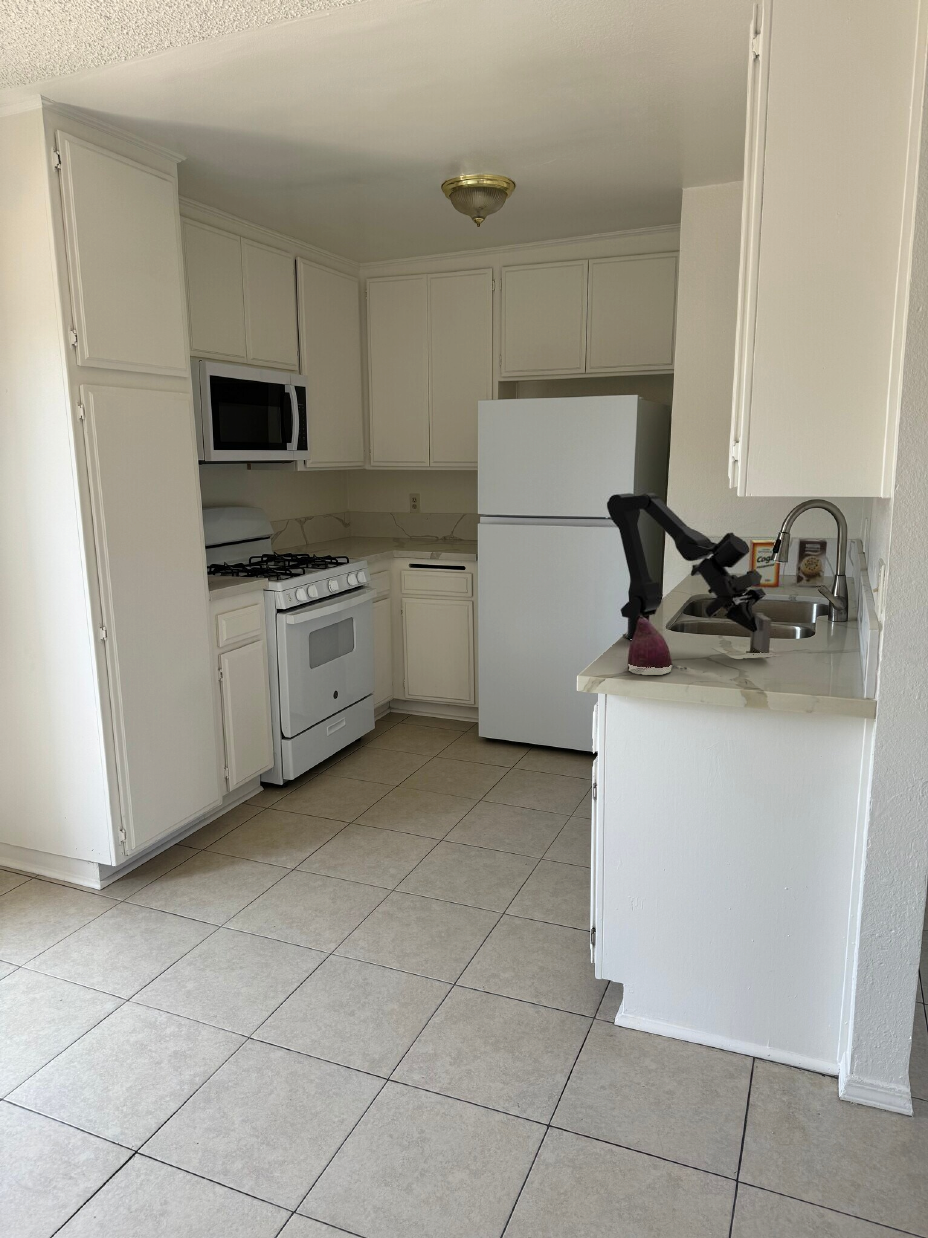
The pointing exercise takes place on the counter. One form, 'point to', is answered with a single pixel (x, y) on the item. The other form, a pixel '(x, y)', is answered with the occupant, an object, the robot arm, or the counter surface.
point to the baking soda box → (764, 562)
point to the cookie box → (810, 562)
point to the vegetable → (648, 647)
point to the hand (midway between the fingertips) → (755, 631)
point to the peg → (761, 634)
